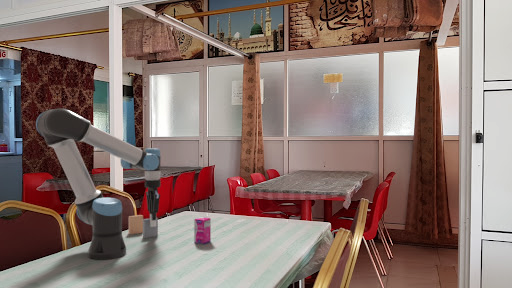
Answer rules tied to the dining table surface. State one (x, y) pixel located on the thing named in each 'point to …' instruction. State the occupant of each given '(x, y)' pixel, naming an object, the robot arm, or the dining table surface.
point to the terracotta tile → (135, 224)
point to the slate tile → (149, 229)
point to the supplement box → (202, 230)
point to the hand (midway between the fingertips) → (153, 226)
